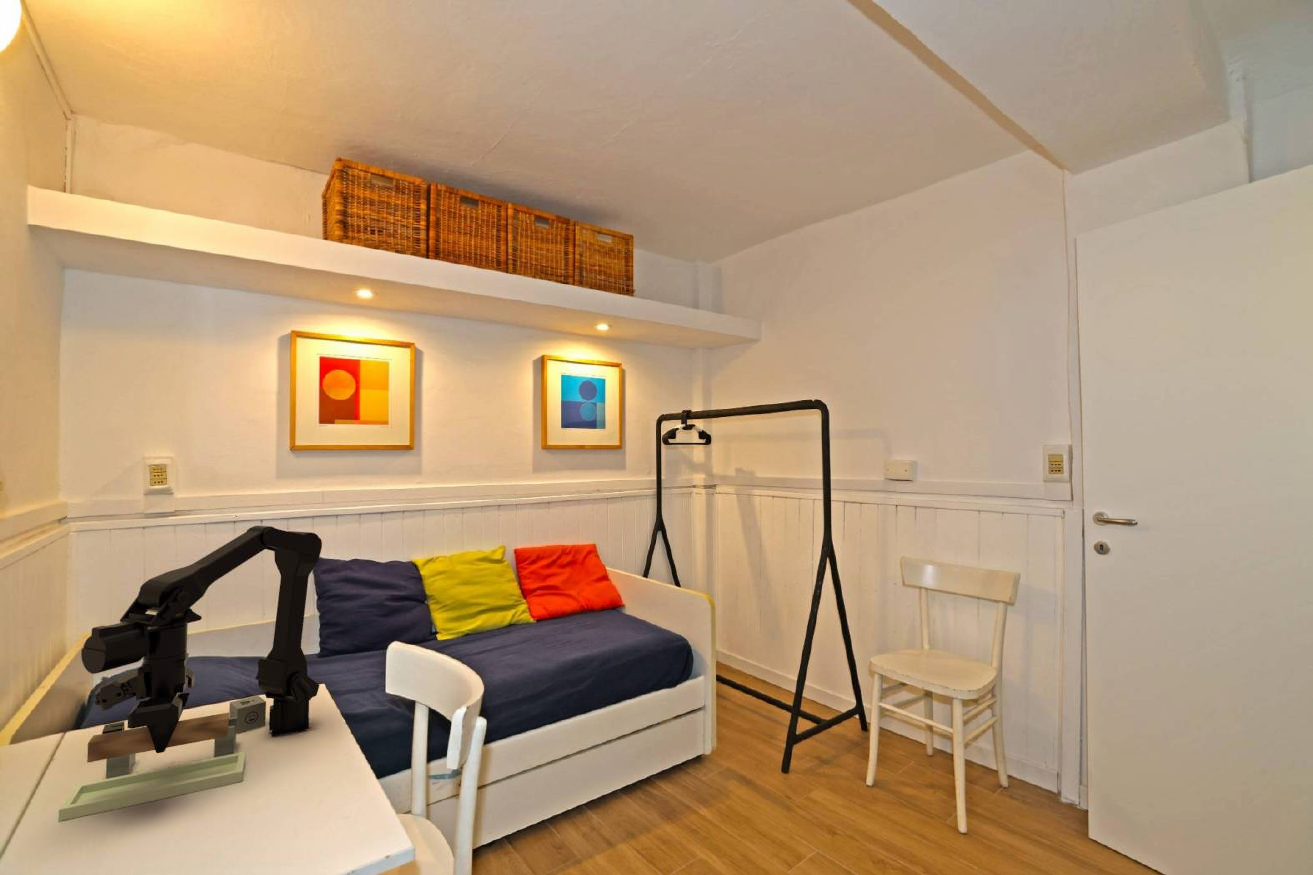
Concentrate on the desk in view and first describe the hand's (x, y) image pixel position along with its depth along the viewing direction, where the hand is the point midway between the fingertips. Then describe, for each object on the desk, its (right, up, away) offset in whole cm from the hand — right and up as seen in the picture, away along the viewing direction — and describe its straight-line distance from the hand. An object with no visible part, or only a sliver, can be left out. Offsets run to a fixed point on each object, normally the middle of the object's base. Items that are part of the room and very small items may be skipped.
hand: (162, 747), depth 102 cm
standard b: (-11, -7, +5) cm, 14 cm away
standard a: (+1, -7, +13) cm, 15 cm away
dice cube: (-1, -8, +23) cm, 24 cm away
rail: (0, 0, 0) cm, 1 cm away
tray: (0, -7, 0) cm, 7 cm away
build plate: (-20, -8, +13) cm, 25 cm away
